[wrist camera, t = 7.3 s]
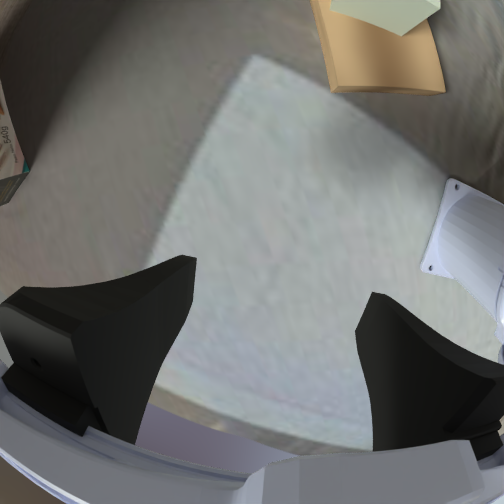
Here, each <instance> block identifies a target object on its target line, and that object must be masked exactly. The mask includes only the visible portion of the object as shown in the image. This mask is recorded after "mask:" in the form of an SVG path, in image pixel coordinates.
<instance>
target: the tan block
mask: <svg viewBox="0 0 504 504" xmlns="http://www.w3.org/2000/svg"><path fill="white" fill-rule="evenodd" d="M310 3H311V7H312V10H313V14H314V17H315V21H316V25H317V29H318V33H319V37H320V41H321V46H322V50H323V54H324V59H325V64H326V69H327V74H328V79H329V84H330V90H331V93H338V92H381V93H401V94H415V95H425V96H432V95H436V94H441V93H445V92H446V90H445V85H444V80H443V75H442V70H441V66H440V62H439V58H438V54H437V50H436V46H435V43H434V39H433V36H432V33H431V30H430V26H429V23H428V21H427V18H426V19H425V20H423V21H422V22H420V23H419V24H418V25H416V26H415V27H414V28H412V29H411V30H409V31H408V32H407V33H405V34H404V35H403V36H400V35H397V34H395V33H393V32H390V31H388V30H386V29H383V28H381V27H378V26H376V25H373V24H370V23H368V22H365V21H362V20H359V19H357V18H354V17H351V16H347V15H344V14H341V13H338V12H334V11H331V10H330V4H331V0H310Z"/></svg>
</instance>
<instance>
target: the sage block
mask: <svg viewBox="0 0 504 504" xmlns="http://www.w3.org/2000/svg"><path fill="white" fill-rule="evenodd" d="M439 9H440V0H331V4H330V10H331V11H334V12H338V13H341V14H344V15H347V16H351V17H354V18H357V19H359V20H362V21H365V22H368V23H370V24H373V25H376V26H378V27H381V28H383V29H386V30H388V31H390V32H393V33H395V34H397V35H400V36H403V35H404V34H405V33H407V32H408V31H409V30H411V29H412V28H414V27H415V26H416V25H418V24H419V23H420V22H422V21H423V20H425V19H426V18H428V17H429V16H430V15H432V14H433V13H435V12H436V11H438V10H439Z"/></svg>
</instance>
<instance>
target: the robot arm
mask: <svg viewBox="0 0 504 504" xmlns="http://www.w3.org/2000/svg"><path fill="white" fill-rule="evenodd" d="M456 184H457V188H456V189H455V185H456ZM196 261H197V258H195V257H190V256H185V255H180V256H177V257H174V258H172V259H169V260H167V261H164V262H162V263H160V264H157V265H155V266H153V267H150V268H148V269H145V270H142V271H139V272H137V273H134V274H131V275H128V276H125V277H122V278H118V279H114V280H110V281H106V282H101V283H95V284H89V285H83V286H74V287H58V288H45V287H25V286H23V287H21V288H20V289H19V290H18V291H16V292H15V293H14V294H12V295H11V296H10V297H9V298H7V299H6V300H5V301H4V302H2V303H1V304H0V332H1V335H2V337H3V340H4V342H5V344H6V347H7V349H8V351H9V354H10V356H11V358H12V360H13V362H14V363H13V365H12V366H11V367H10V368H9V369H8V367H7V366H6V365H5V364H4V362H2V361H1V360H0V456H1V457H3V458H4V459H5V460H6V461H7V462H9V463H10V464H11V465H12V466H13V467H14V468H16V469H17V470H18V471H20V472H21V473H22V474H23V475H25V476H26V477H27V478H29V479H30V480H32V481H33V482H34V483H36V484H37V485H39V486H40V487H42V488H43V489H44V490H46V491H47V492H49V493H50V494H52V495H53V496H55V497H57V498H59V499H60V500H62V501H63V502H65V503H67V504H490V503H492V502H494V501H496V500H497V499H499V498H500V497H501V496H503V495H504V434H502V435H501V436H499V433H498V430H499V429H500V428H501V426H502V425H501V423H500V421H499V420H500V419H501V418H502V417H503V415H504V204H503V203H501V202H499V201H497V200H495V199H493V198H492V197H490V196H488V195H486V194H484V193H482V192H480V191H478V190H476V189H474V188H472V187H470V186H468V185H466V184H464V183H462V182H460V181H458V180H455V179H453V178H449V179H448V180H447V182H446V186H445V190H444V194H443V197H442V201H441V205H440V208H439V212H438V215H437V218H436V221H435V225H434V228H433V231H432V234H431V237H430V240H429V243H428V245H427V248H426V251H425V254H424V256H423V259H422V262H421V265H420V269H421V270H422V271H423V272H426V273H430V274H434V275H439V276H443V277H447V278H452V279H456V280H457V281H458V282H459V283H460V284H461V285H462V286H463V287H464V288H465V289H466V290H467V291H468V292H469V293H470V294H471V295H472V296H473V297H474V298H475V299H476V300H477V301H478V302H479V303H480V304H481V306H482V307H483V308H484V309H485V310H486V311H487V312H488V313H489V314H490V315H491V316H492V318H493V319H494V320H495V321H496V322H497V328H496V330H495V333H494V335H495V336H496V337H497V338H498V340H499V341H500V342H501V343H502V346H501V348H500V351H499V354H498V363H496V362H493V361H491V360H488V359H486V358H483V357H481V356H478V355H476V354H474V353H472V352H470V351H468V350H466V349H464V348H462V347H460V346H458V345H457V344H455V343H453V342H452V341H450V340H448V339H447V338H445V337H443V336H442V335H440V334H439V333H437V332H436V331H435V330H433V329H432V328H431V327H429V326H428V325H426V324H425V323H424V322H422V321H421V320H420V319H419V318H417V317H416V316H415V315H413V314H412V313H411V312H410V311H408V310H407V309H406V308H404V307H403V306H402V305H401V304H399V303H398V302H396V301H395V300H394V299H392V298H391V297H389V296H387V295H385V294H381V293H375V292H372V293H371V296H370V298H369V301H368V303H367V305H366V308H365V310H364V312H363V315H362V317H361V319H360V321H359V324H358V326H357V328H356V330H355V335H356V344H357V351H358V355H359V359H360V362H361V366H362V370H363V373H364V377H365V381H366V385H367V388H368V392H369V397H370V403H371V413H372V425H373V452H358V453H332V454H321V455H307V456H298V457H294V458H290V459H286V460H282V461H277V462H272V463H270V464H268V465H267V466H265V467H263V468H262V469H260V470H258V471H257V472H255V473H253V474H249V473H242V472H235V471H229V470H224V469H218V468H213V467H208V466H204V465H199V464H195V463H191V462H187V461H183V460H179V459H176V458H172V457H169V456H165V455H162V454H159V453H156V452H152V451H150V450H146V449H144V448H141V447H138V446H135V442H136V439H137V435H138V431H139V428H140V424H141V421H142V417H143V414H144V411H145V408H146V405H147V402H148V399H149V397H150V394H151V391H152V388H153V385H154V383H155V380H156V378H157V375H158V372H159V370H160V367H161V365H162V363H163V361H164V359H165V357H166V356H167V354H168V352H169V350H170V348H171V346H172V345H173V343H174V341H175V339H176V337H177V336H178V334H179V332H180V330H181V328H182V326H183V325H184V323H185V321H186V318H187V316H188V313H189V311H190V308H191V305H192V302H193V293H194V282H195V271H196ZM431 265H432V266H431ZM430 266H431V268H430V269H429V267H430Z"/></svg>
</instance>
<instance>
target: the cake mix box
mask: <svg viewBox="0 0 504 504" xmlns="http://www.w3.org/2000/svg"><path fill="white" fill-rule="evenodd" d="M29 172H30V171H29V168H28V166H27V163H26V161H25V158H24V156H23V153H22V151H21V148H20V145H19V143H18V140H17V137H16V134H15V131H14V128H13V125H12V122H11V118H10V115H9V112H8V108H7V105H6V101H5V97H4V93H3V89H2V85H1V80H0V206H2V205H4V204H7V203H9V201H10V199H11V198H12V196H13V195H14V193H15V192H16V190H17V189H18V187H19V186H20V184H21V183H22V182H23V180H24V179H25V177H26V176H27V174H28V173H29Z"/></svg>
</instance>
